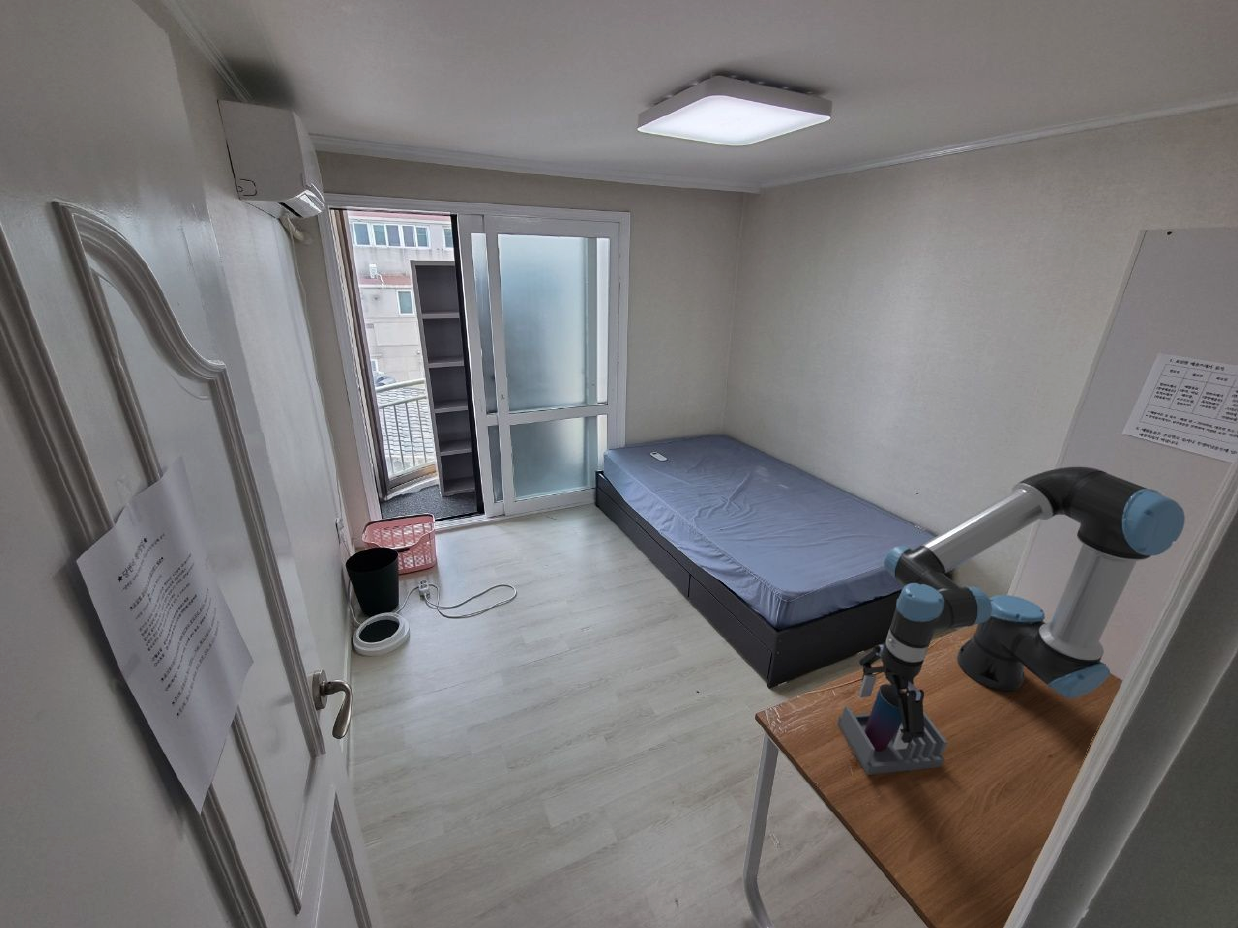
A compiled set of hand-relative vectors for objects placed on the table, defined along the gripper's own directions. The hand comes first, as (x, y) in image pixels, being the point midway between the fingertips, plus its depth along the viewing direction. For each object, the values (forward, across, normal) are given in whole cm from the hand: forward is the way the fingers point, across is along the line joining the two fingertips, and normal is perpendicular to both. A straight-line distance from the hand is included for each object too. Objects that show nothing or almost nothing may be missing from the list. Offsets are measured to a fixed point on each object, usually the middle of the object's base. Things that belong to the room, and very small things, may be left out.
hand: (880, 720), depth 114 cm
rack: (+9, 0, +4) cm, 9 cm away
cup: (+7, 0, 0) cm, 7 cm away
